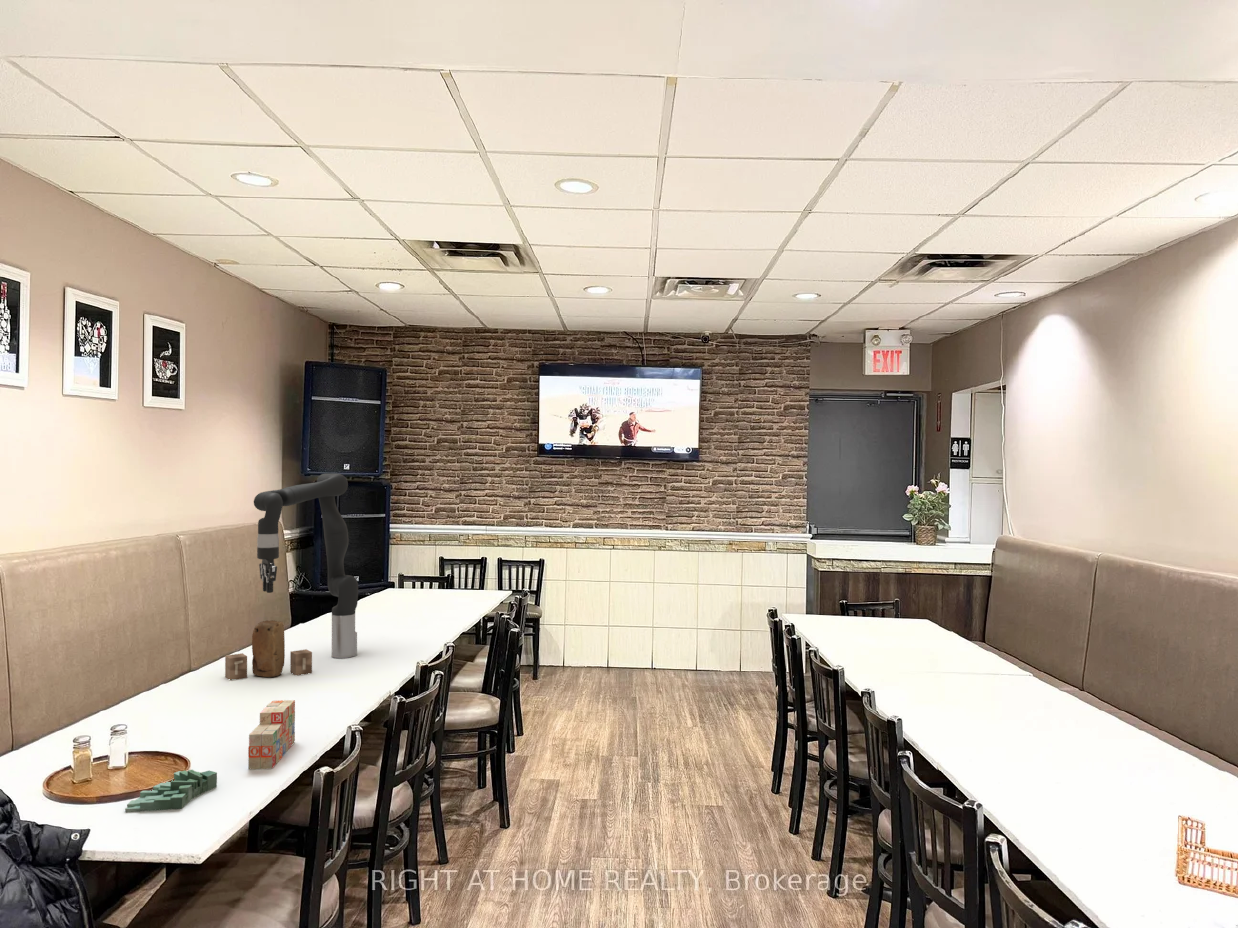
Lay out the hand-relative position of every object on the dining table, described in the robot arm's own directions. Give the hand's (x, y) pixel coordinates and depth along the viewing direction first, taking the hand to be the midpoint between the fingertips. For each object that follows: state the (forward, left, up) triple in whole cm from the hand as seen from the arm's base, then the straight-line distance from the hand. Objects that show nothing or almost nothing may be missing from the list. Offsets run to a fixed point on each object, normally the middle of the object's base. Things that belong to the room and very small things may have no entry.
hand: (267, 591), depth 315 cm
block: (0, 0, -31) cm, 31 cm away
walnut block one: (-11, +4, -31) cm, 33 cm away
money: (+52, +102, -32) cm, 119 cm away
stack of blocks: (+26, +89, -32) cm, 98 cm away
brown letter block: (+10, -4, -31) cm, 33 cm away
